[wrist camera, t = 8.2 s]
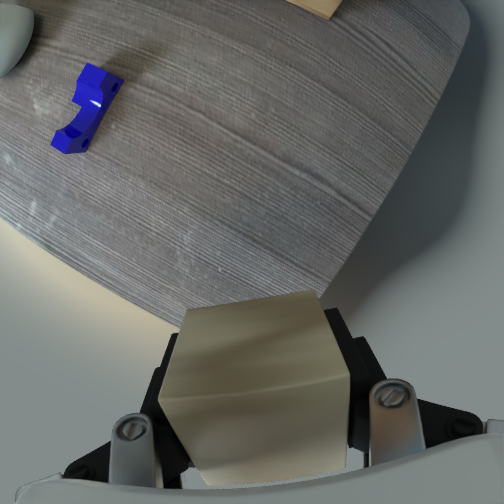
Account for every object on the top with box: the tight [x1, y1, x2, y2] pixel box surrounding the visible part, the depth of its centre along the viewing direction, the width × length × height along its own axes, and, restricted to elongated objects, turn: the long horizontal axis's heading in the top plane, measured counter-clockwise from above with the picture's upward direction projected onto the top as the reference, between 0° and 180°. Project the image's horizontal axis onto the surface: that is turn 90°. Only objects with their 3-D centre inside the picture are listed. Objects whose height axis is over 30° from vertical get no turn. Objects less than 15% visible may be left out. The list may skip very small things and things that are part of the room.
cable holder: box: [51, 63, 124, 154], centre depth 23 cm, size 8×4×4 cm, turn 147°
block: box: [158, 289, 350, 486], centre depth 9 cm, size 5×5×5 cm
